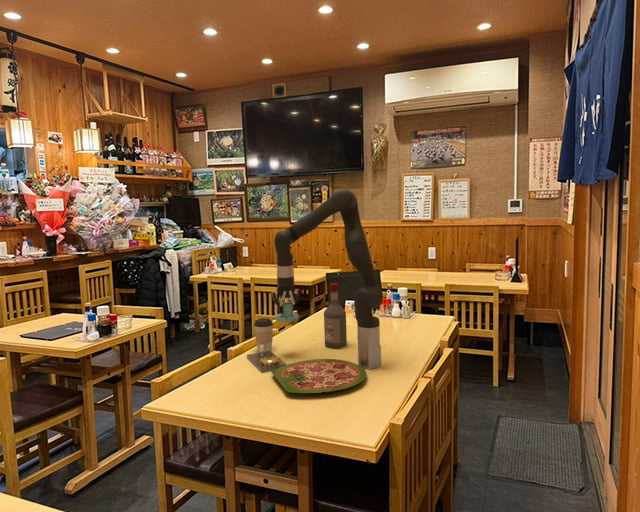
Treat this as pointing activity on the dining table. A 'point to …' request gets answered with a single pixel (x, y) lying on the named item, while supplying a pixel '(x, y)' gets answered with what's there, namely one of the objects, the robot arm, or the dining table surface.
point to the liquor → (335, 322)
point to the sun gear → (269, 361)
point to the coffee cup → (264, 333)
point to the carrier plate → (257, 356)
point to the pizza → (319, 375)
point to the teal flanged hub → (287, 314)
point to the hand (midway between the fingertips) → (286, 312)
